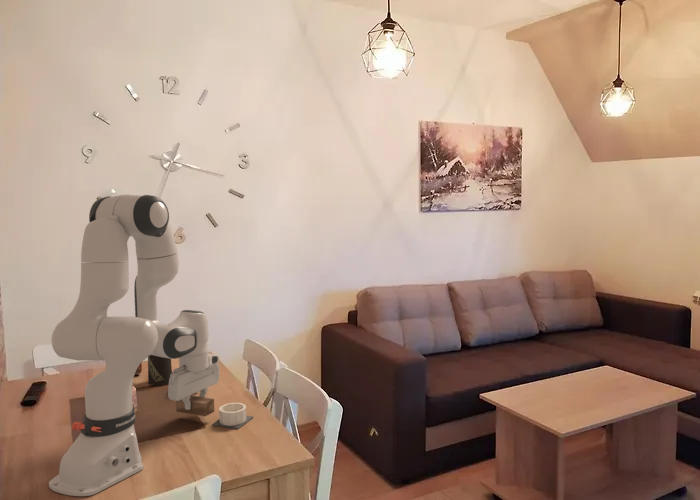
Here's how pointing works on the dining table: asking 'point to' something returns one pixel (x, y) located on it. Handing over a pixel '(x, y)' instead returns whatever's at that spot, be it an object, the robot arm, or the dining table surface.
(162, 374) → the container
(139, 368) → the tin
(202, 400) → the brown wooden block
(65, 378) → the dining table surface
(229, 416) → the bowl
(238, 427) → the mat
